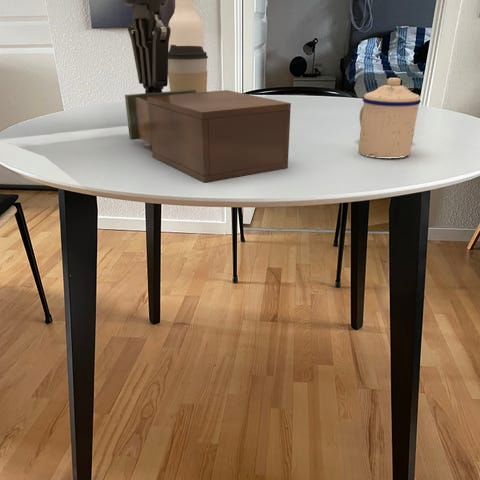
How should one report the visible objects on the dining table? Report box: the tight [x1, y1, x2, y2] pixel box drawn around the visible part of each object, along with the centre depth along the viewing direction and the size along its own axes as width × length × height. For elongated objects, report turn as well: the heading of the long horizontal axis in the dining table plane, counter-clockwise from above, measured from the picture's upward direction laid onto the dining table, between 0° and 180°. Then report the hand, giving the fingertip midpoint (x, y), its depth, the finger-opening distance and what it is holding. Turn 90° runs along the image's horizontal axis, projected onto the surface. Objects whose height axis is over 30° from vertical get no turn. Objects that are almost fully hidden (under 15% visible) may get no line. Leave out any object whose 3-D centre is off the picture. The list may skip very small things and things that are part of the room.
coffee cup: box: [168, 45, 209, 93], centre depth 108 cm, size 9×9×15 cm
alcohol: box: [168, 0, 205, 51], centre depth 125 cm, size 9×9×30 cm
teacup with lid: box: [357, 77, 422, 157], centre depth 83 cm, size 12×9×12 cm
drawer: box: [124, 90, 196, 145], centre depth 87 cm, size 18×14×7 cm
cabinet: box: [147, 89, 292, 183], centre depth 78 cm, size 18×15×9 cm
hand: (156, 126), depth 96 cm, fingers closed
